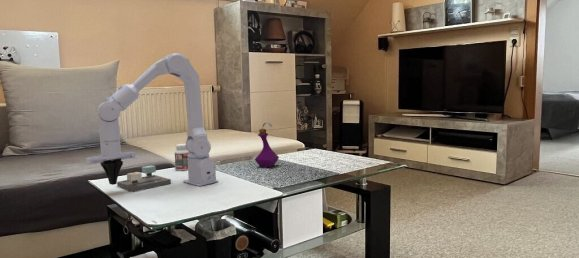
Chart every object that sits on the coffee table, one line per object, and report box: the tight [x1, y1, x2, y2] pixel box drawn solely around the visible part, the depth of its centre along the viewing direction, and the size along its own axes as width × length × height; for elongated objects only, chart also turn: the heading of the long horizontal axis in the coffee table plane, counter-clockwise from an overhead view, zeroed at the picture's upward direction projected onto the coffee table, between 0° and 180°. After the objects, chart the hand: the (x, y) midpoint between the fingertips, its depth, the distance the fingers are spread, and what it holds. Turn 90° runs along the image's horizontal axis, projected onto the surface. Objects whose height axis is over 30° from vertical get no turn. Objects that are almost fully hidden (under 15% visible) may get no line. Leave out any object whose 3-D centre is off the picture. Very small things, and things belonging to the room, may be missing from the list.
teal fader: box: [141, 165, 157, 177], centre depth 146 cm, size 3×4×3 cm
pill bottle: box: [174, 143, 189, 172], centre depth 165 cm, size 6×6×10 cm
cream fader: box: [126, 171, 143, 184], centre depth 136 cm, size 3×4×3 cm
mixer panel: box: [116, 174, 172, 192], centre depth 141 cm, size 11×14×2 cm
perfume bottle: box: [254, 121, 280, 169], centre depth 167 cm, size 8×8×18 cm
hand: (113, 183), depth 131 cm, fingers closed
